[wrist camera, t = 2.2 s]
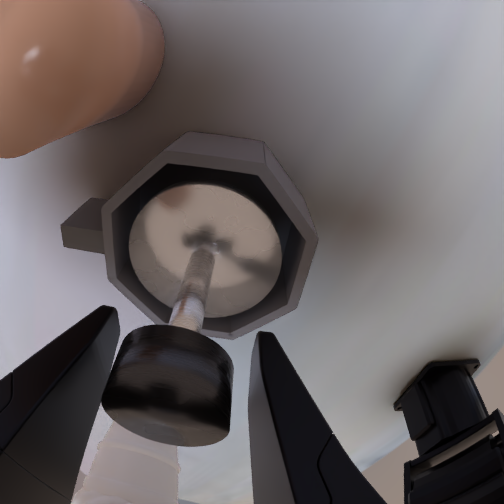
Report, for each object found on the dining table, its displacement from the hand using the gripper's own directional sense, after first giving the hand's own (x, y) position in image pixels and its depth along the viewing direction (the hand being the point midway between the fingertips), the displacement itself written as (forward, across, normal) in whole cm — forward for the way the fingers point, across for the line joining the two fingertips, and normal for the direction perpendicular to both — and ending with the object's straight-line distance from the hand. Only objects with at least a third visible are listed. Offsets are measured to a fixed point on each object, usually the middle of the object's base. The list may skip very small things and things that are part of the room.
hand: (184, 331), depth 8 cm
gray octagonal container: (+7, +1, 0) cm, 7 cm away
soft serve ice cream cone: (+7, +4, +18) cm, 20 cm away
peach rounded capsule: (+7, +6, -7) cm, 12 cm away
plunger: (+4, 0, 0) cm, 4 cm away
